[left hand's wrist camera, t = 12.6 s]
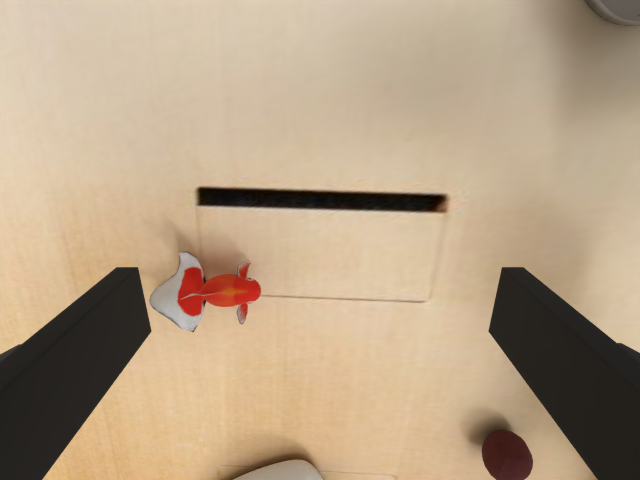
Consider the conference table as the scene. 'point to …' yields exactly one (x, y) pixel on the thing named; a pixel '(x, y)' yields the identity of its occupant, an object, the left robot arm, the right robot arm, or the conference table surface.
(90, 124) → the conference table surface
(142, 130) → the conference table surface
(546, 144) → the conference table surface
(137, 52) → the conference table surface
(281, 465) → the projector
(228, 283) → the fish
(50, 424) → the left robot arm
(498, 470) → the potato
